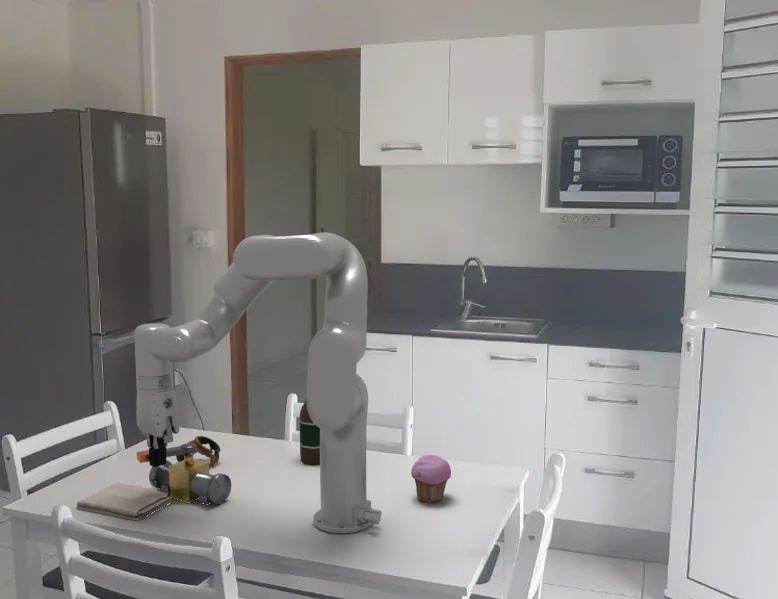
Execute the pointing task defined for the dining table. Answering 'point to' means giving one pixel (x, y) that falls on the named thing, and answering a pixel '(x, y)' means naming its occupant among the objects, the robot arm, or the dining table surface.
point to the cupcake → (431, 477)
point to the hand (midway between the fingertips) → (158, 464)
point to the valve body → (190, 481)
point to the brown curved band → (205, 449)
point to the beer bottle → (309, 438)
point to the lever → (170, 452)
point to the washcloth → (125, 501)
